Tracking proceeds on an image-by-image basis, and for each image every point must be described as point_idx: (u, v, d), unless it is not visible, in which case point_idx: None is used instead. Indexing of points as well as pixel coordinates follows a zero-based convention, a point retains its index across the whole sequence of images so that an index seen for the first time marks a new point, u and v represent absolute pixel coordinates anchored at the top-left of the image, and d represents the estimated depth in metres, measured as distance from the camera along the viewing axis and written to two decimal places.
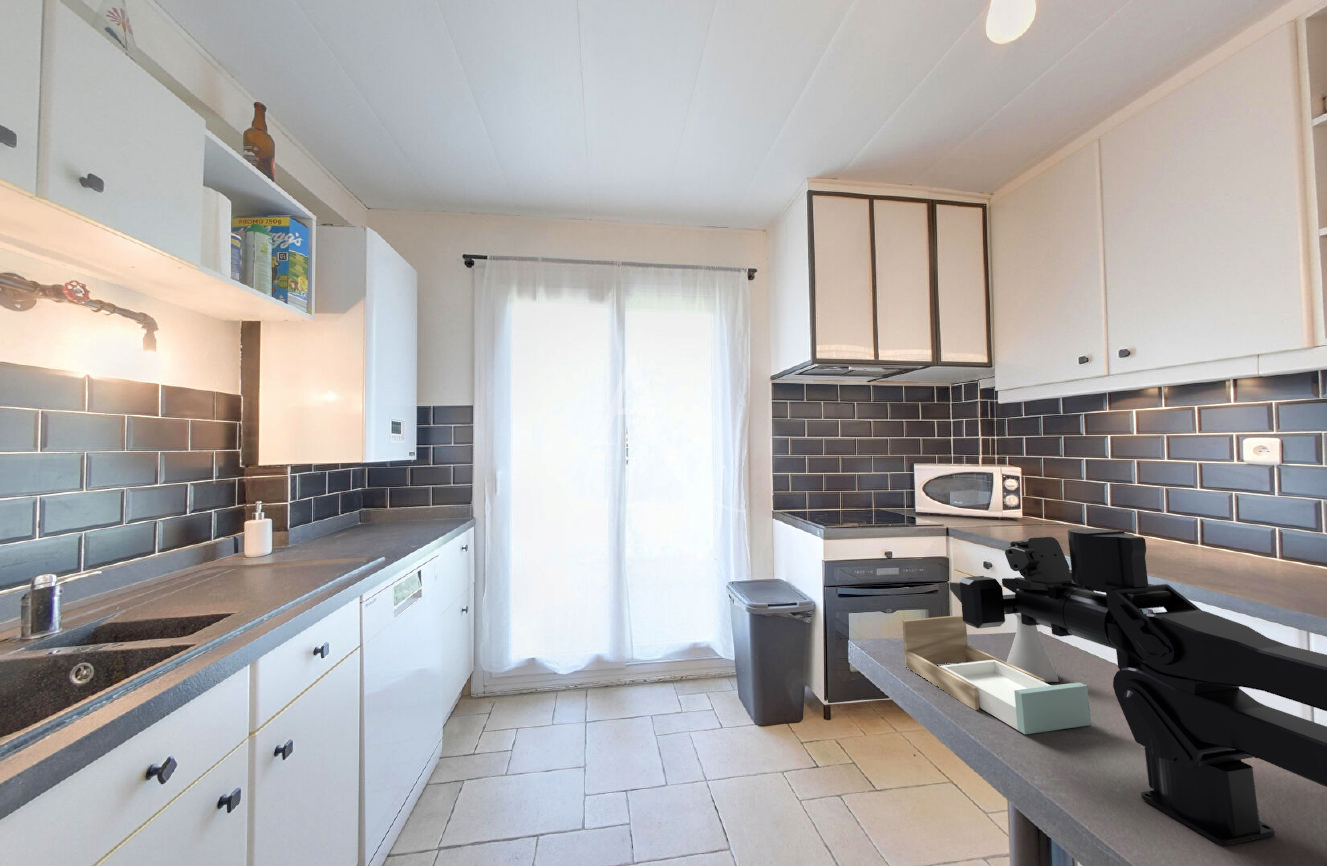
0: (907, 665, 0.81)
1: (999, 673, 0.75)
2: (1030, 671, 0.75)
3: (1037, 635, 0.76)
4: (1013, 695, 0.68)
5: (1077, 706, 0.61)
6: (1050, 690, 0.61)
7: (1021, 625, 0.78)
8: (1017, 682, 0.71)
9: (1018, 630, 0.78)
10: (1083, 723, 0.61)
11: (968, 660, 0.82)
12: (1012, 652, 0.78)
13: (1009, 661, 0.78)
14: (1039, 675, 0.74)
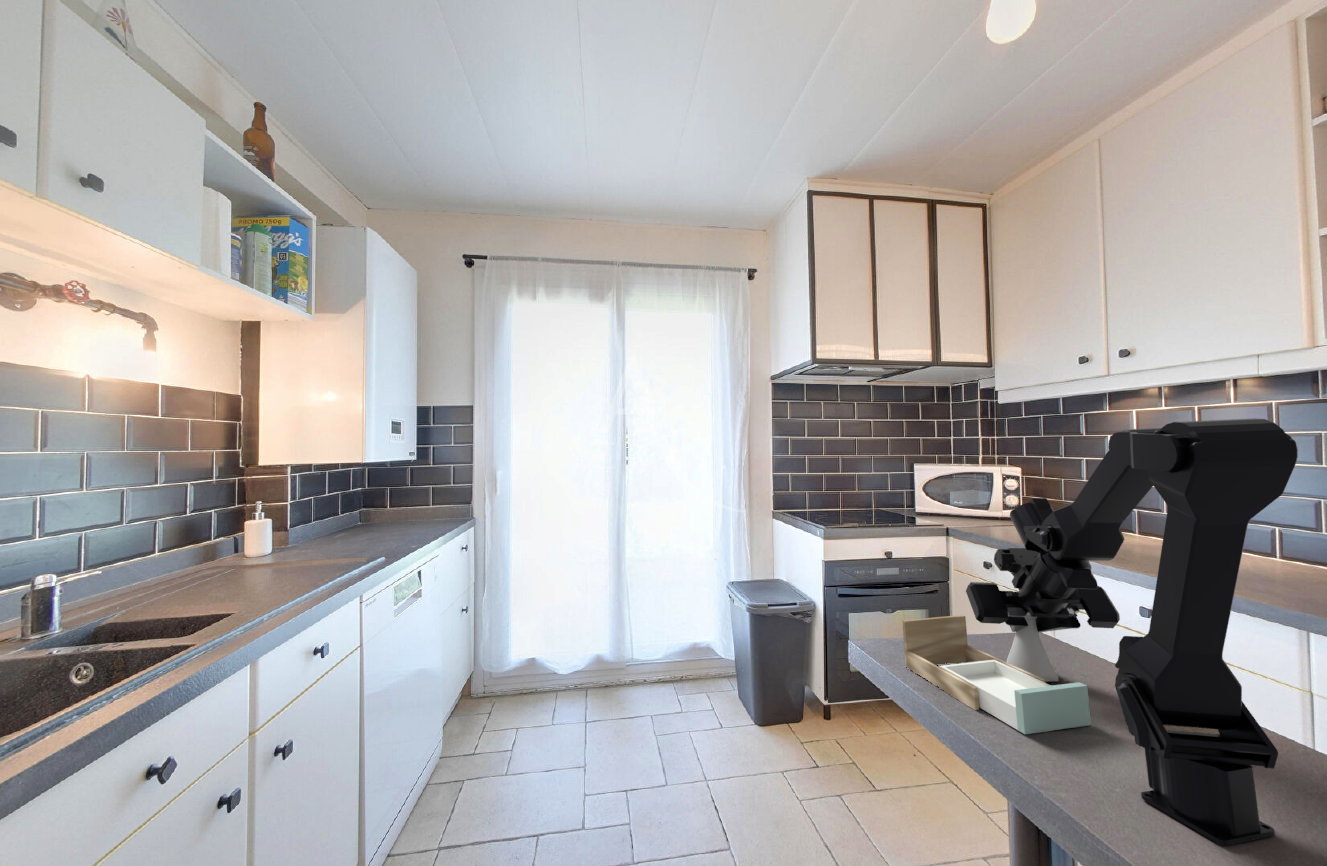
0: (907, 665, 0.81)
1: (999, 673, 0.75)
2: (1030, 671, 0.75)
3: (1037, 635, 0.76)
4: (1013, 695, 0.68)
5: (1077, 706, 0.61)
6: (1050, 690, 0.61)
7: None
8: (1017, 682, 0.71)
9: None
10: (1083, 723, 0.61)
11: (968, 660, 0.82)
12: (1012, 652, 0.78)
13: (1009, 661, 0.78)
14: (1039, 675, 0.74)
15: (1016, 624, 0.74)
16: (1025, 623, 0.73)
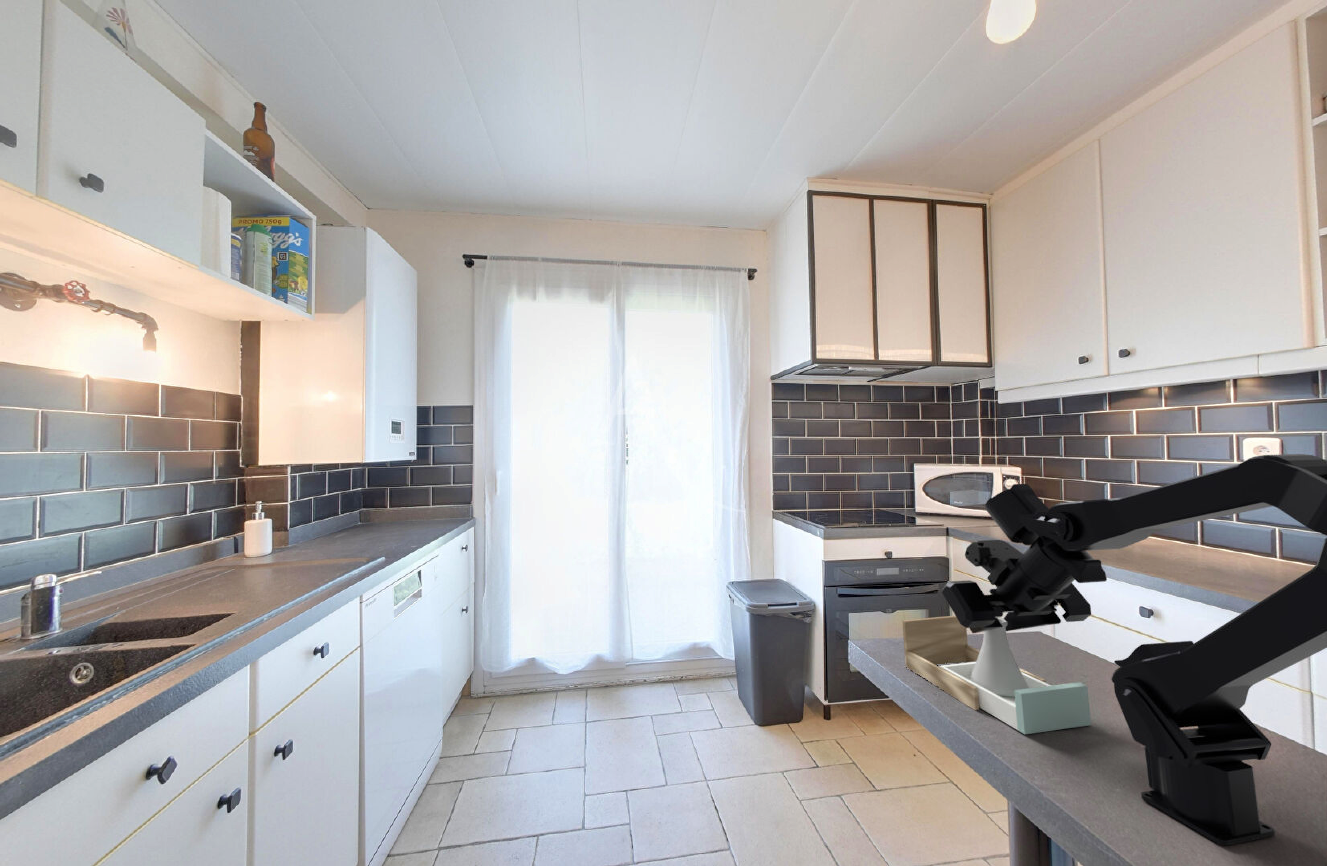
0: (907, 665, 0.81)
1: None
2: (1005, 686, 0.68)
3: (1007, 644, 0.70)
4: None
5: (1077, 706, 0.61)
6: (1050, 690, 0.61)
7: (991, 634, 0.70)
8: None
9: (988, 640, 0.71)
10: (1083, 723, 0.61)
11: (968, 660, 0.82)
12: (982, 665, 0.71)
13: (979, 675, 0.70)
14: (1014, 689, 0.67)
15: (991, 626, 0.66)
16: (999, 624, 0.66)
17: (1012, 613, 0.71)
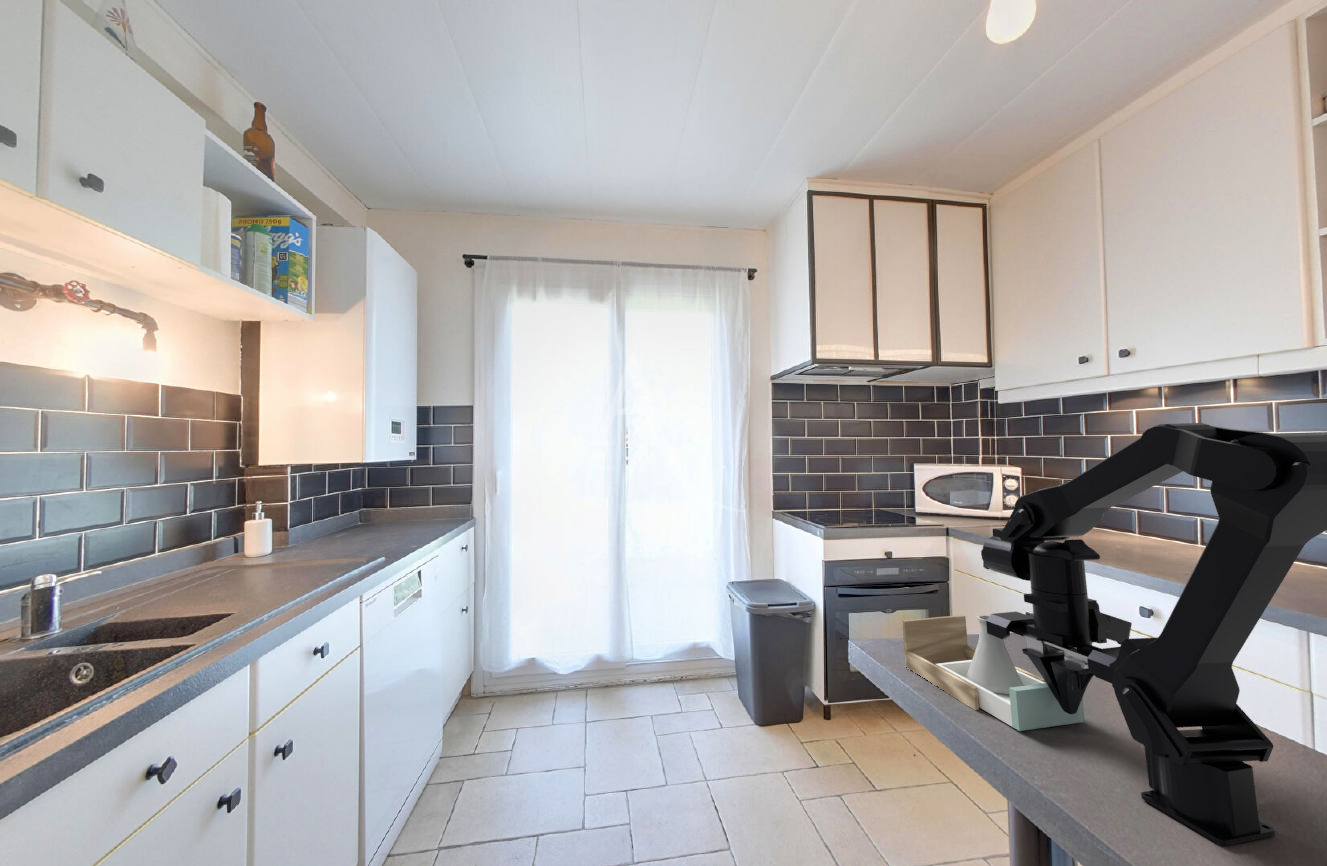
0: (907, 665, 0.81)
1: None
2: (1000, 683, 0.68)
3: (1003, 642, 0.71)
4: None
5: None
6: (1044, 687, 0.62)
7: None
8: None
9: (983, 638, 0.71)
10: (1077, 720, 0.62)
11: None
12: (978, 663, 0.71)
13: (975, 673, 0.71)
14: None
15: (1029, 652, 0.63)
16: (1040, 656, 0.61)
17: None
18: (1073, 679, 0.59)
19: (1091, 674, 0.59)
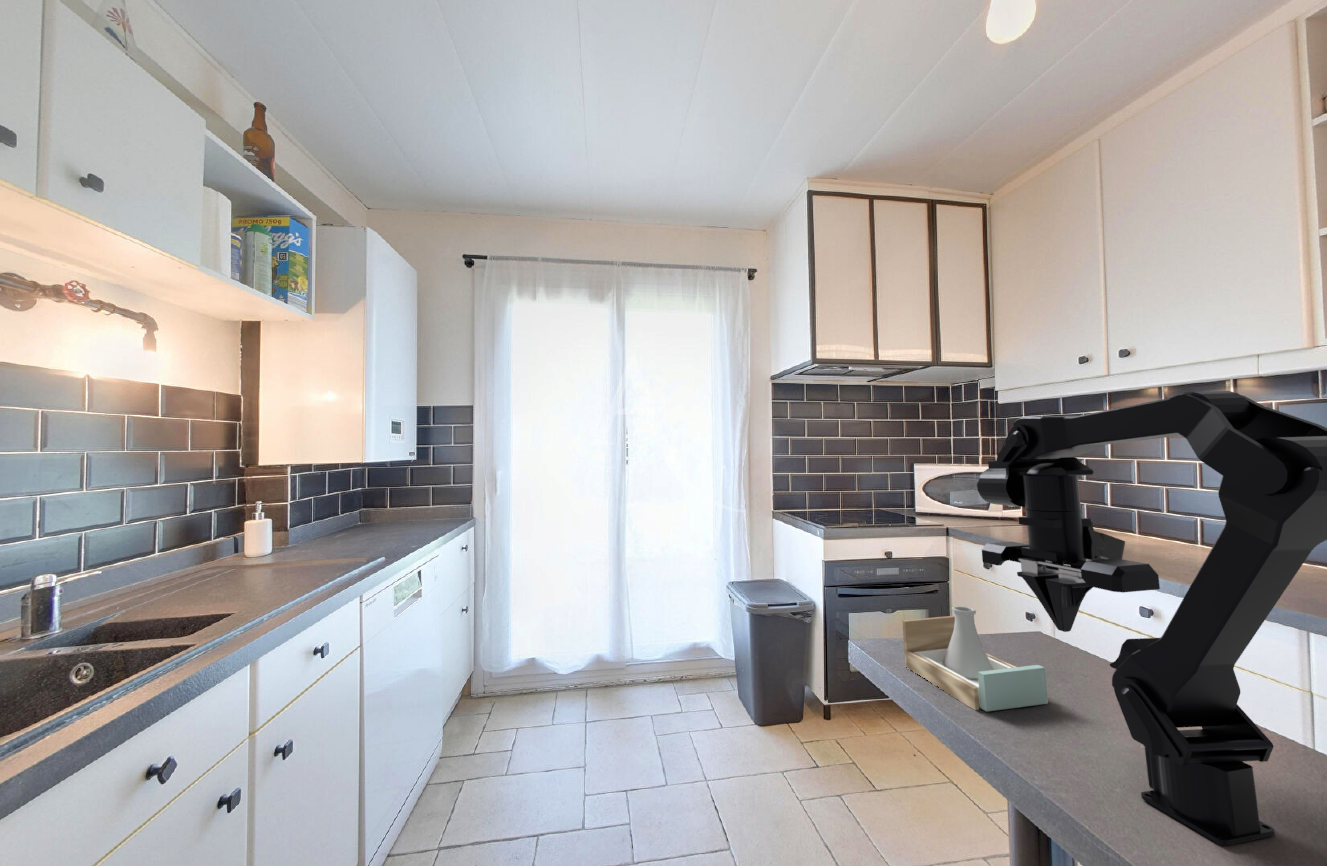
0: (907, 665, 0.81)
1: None
2: (972, 669, 0.73)
3: (975, 631, 0.75)
4: None
5: (1035, 686, 0.67)
6: (1010, 671, 0.67)
7: (960, 622, 0.76)
8: None
9: (958, 627, 0.76)
10: (1040, 702, 0.67)
11: None
12: (952, 651, 0.76)
13: (950, 660, 0.76)
14: None
15: (1024, 574, 0.63)
16: (1034, 575, 0.62)
17: None
18: (1067, 596, 0.60)
19: (1085, 590, 0.59)
